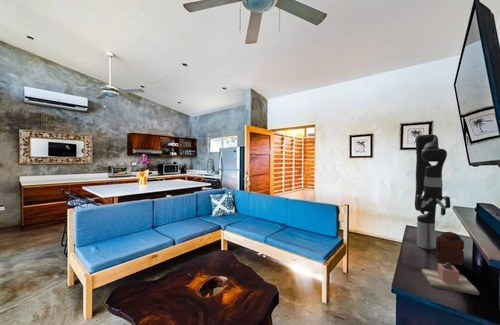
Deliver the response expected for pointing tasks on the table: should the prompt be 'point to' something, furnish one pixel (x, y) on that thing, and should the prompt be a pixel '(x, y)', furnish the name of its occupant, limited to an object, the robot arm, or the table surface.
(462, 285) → the peg board
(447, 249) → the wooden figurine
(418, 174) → the robot arm
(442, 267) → the bead
